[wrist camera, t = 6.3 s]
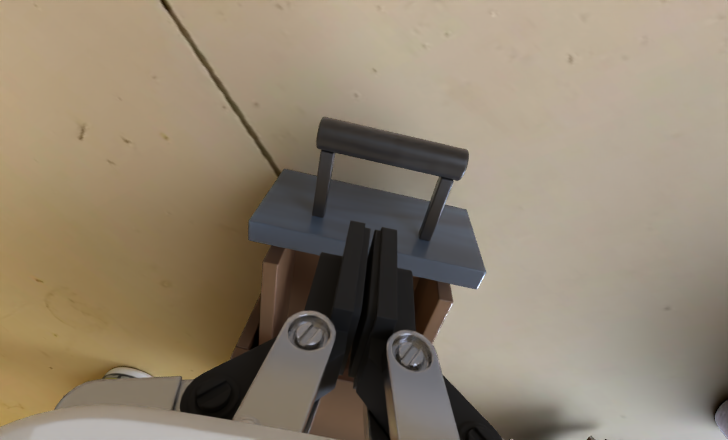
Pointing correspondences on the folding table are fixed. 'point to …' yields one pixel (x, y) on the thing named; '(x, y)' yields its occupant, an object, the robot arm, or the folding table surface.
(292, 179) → the drawer
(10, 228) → the folding table surface
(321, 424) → the cabinet
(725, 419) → the pillar candle
